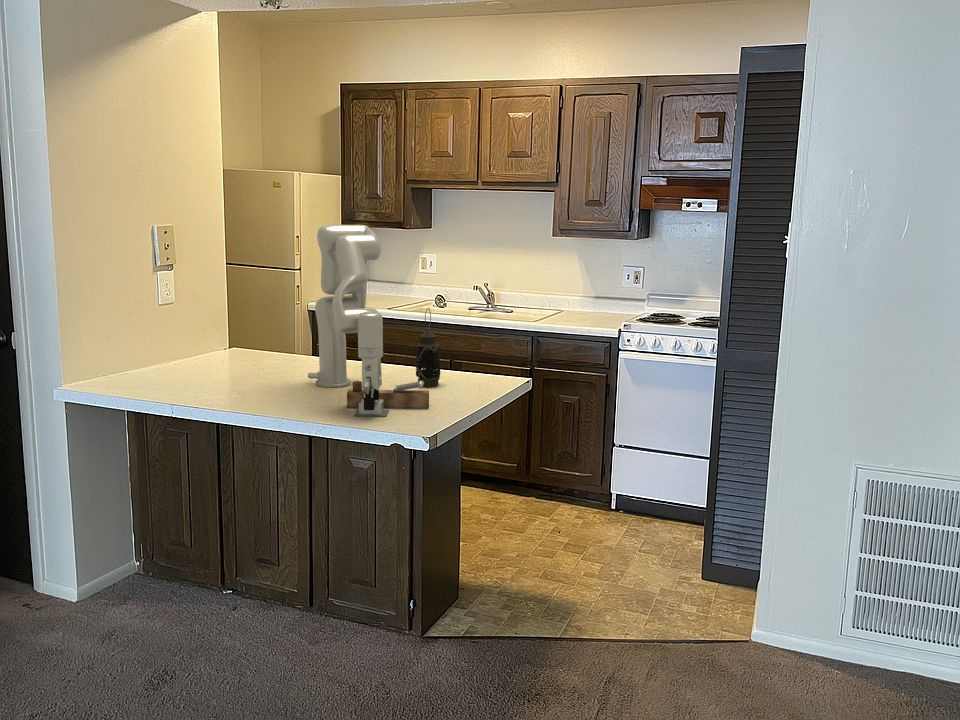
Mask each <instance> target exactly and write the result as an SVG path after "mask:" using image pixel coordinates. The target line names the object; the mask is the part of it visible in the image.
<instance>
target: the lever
mask: <svg viewBox="0 0 960 720" xmlns="http://www.w3.org/2000/svg"><path fill="white" fill-rule="evenodd" d="M423 384H424V381H423V380H420V381H419V382H418V381H416V382H409V383H403V384H399V385H395V386H394V388H393V390H394V392H396V391H401V390H413V389H417V388H419V389H422V388H424V387H423Z"/></svg>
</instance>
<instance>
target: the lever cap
mask: <svg viewBox="0 0 960 720" xmlns="http://www.w3.org/2000/svg"><path fill="white" fill-rule="evenodd" d="M358 410H359V415H382V413H383V412H384V410H385V408H384V400H378V399H374V410H364V399H362V400H361V401H360V402H359V408H358Z"/></svg>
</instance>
